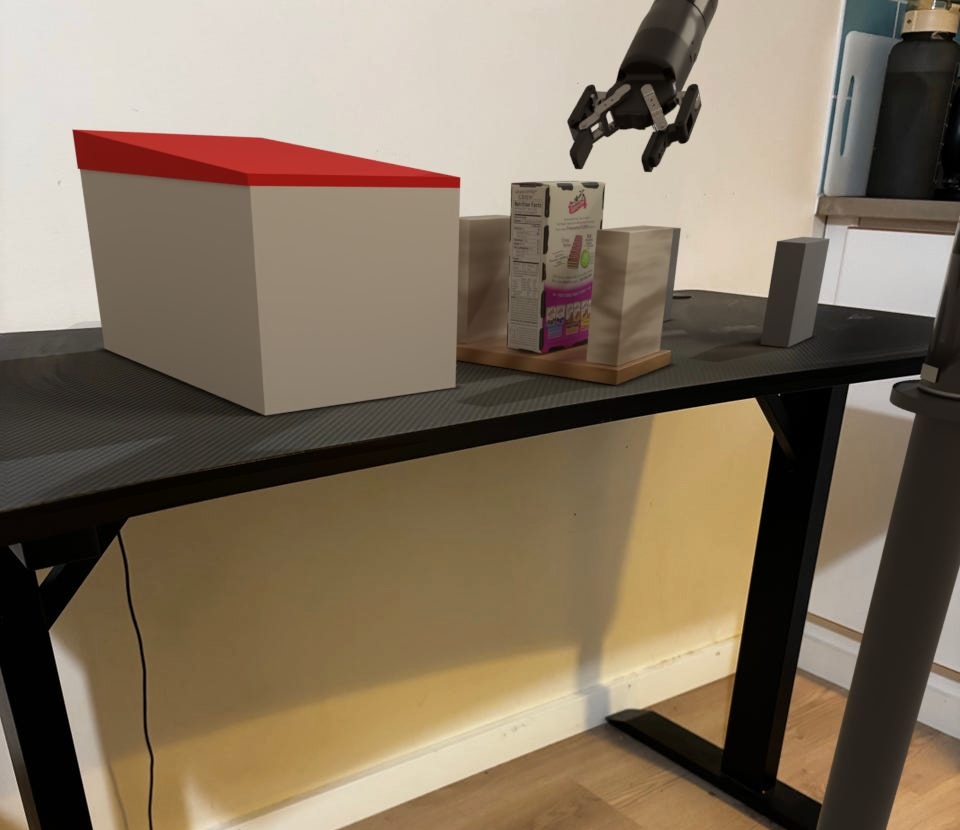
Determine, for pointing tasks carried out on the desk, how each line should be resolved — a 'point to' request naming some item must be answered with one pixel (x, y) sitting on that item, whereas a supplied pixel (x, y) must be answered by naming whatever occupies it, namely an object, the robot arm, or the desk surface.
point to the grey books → (780, 288)
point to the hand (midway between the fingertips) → (610, 164)
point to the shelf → (613, 316)
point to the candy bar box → (552, 263)
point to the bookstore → (272, 267)
